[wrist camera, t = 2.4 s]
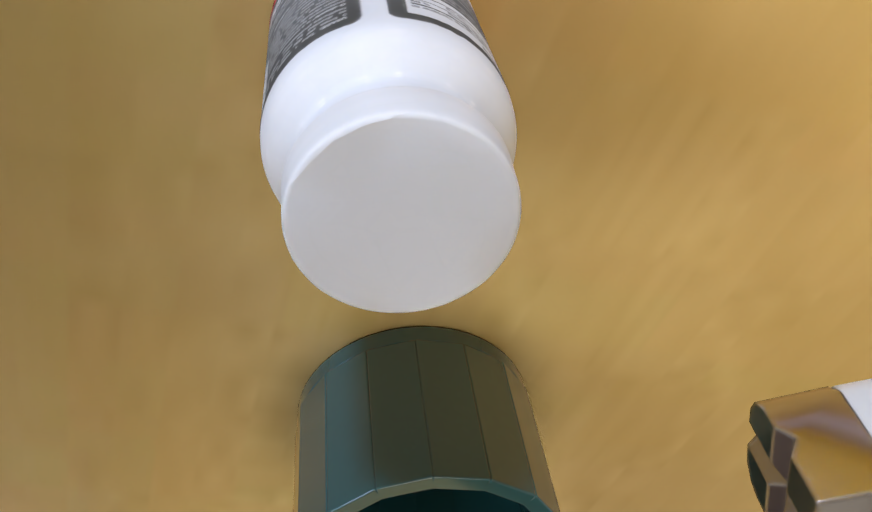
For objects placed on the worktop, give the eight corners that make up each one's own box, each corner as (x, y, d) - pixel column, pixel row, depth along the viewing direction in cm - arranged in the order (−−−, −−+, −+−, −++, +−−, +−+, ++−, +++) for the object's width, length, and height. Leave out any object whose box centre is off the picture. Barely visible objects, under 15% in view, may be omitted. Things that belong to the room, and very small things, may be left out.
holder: (330, 503, 36) (332, 660, 31) (267, 355, 31) (256, 513, 25) (536, 459, 36) (576, 609, 31) (510, 303, 31) (552, 451, 25)
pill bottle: (298, 132, 26) (288, 355, 18) (246, -55, 22) (207, 119, 14) (481, 98, 26) (554, 306, 18) (458, -93, 22) (536, 59, 14)
